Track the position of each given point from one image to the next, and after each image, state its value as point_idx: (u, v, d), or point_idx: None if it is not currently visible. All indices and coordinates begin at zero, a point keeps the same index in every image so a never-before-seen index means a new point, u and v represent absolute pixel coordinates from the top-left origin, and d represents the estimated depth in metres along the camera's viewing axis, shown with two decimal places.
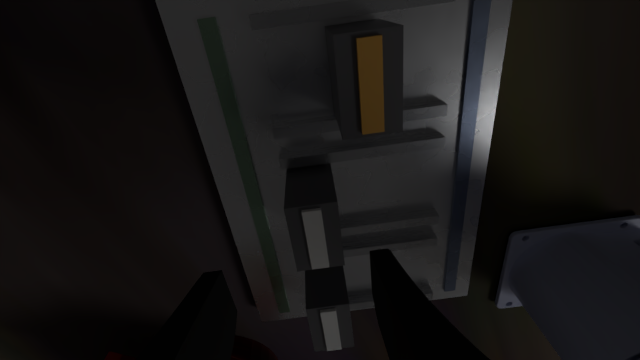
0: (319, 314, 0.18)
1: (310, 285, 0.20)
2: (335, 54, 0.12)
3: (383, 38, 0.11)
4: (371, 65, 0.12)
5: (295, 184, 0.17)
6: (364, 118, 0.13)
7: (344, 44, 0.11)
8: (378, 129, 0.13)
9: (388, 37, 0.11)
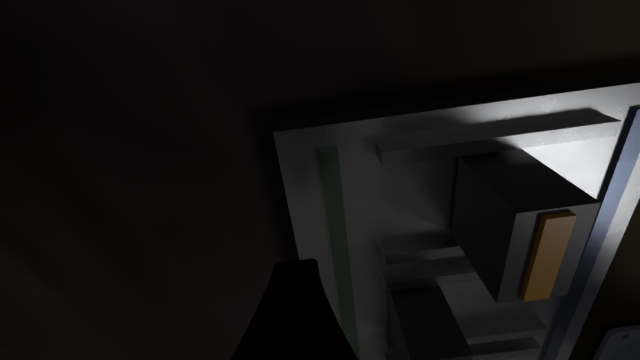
0: None
1: None
2: (513, 230, 0.10)
3: (574, 214, 0.10)
4: (551, 239, 0.10)
5: (409, 316, 0.15)
6: (530, 288, 0.11)
7: (527, 221, 0.10)
8: (542, 296, 0.11)
9: (579, 213, 0.10)
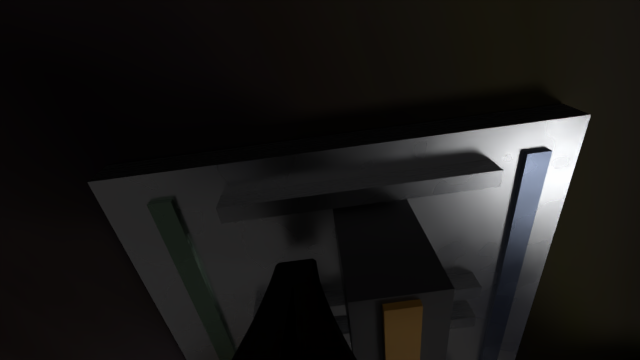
0: None
1: None
2: (351, 320, 0.08)
3: (424, 302, 0.08)
4: (403, 327, 0.08)
5: None
6: None
7: (365, 310, 0.08)
8: None
9: (431, 301, 0.08)
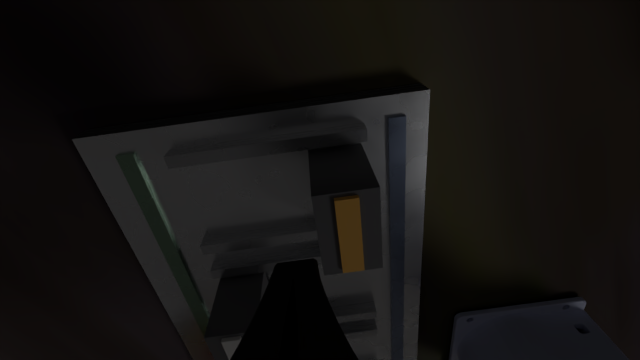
0: None
1: None
2: (314, 211, 0.12)
3: (361, 197, 0.12)
4: (350, 218, 0.12)
5: (223, 299, 0.17)
6: (344, 261, 0.13)
7: (322, 203, 0.12)
8: (358, 268, 0.13)
9: (365, 196, 0.12)
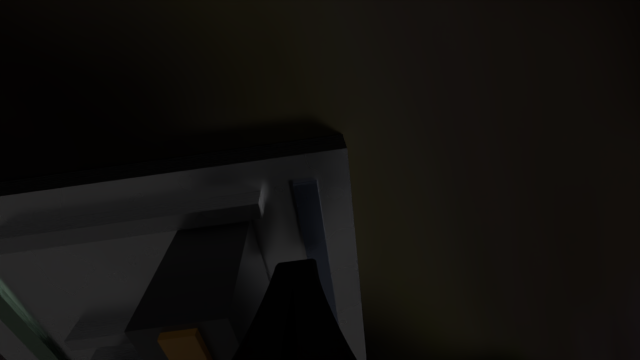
0: None
1: None
2: (136, 348, 0.08)
3: (203, 331, 0.08)
4: (194, 354, 0.08)
5: None
6: None
7: (145, 339, 0.08)
8: None
9: (209, 329, 0.08)
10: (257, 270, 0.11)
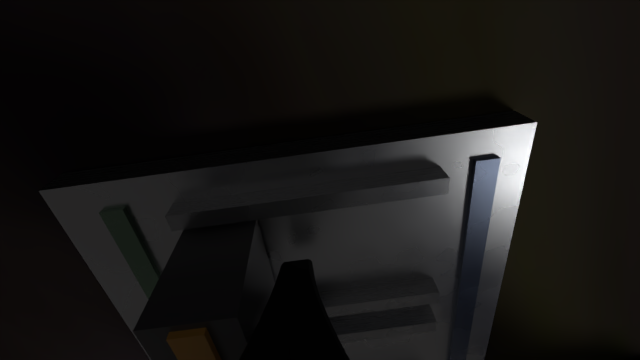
0: None
1: None
2: (145, 347, 0.08)
3: (211, 330, 0.08)
4: (203, 354, 0.08)
5: None
6: None
7: (154, 338, 0.08)
8: None
9: (218, 328, 0.08)
10: (263, 269, 0.11)
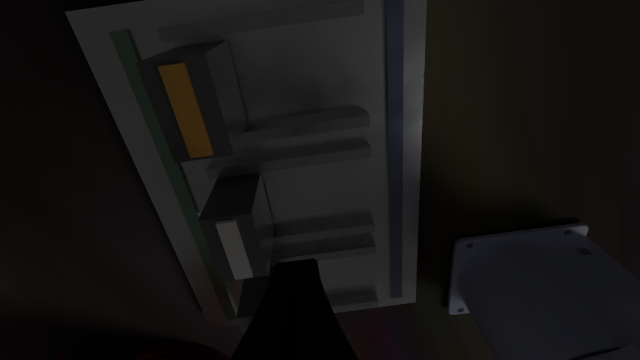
0: None
1: (246, 293, 0.20)
2: (143, 81, 0.12)
3: (188, 65, 0.12)
4: (183, 91, 0.12)
5: (218, 194, 0.17)
6: (188, 142, 0.13)
7: (150, 71, 0.12)
8: (206, 153, 0.13)
9: (192, 64, 0.12)
10: (232, 79, 0.15)
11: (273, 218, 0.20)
